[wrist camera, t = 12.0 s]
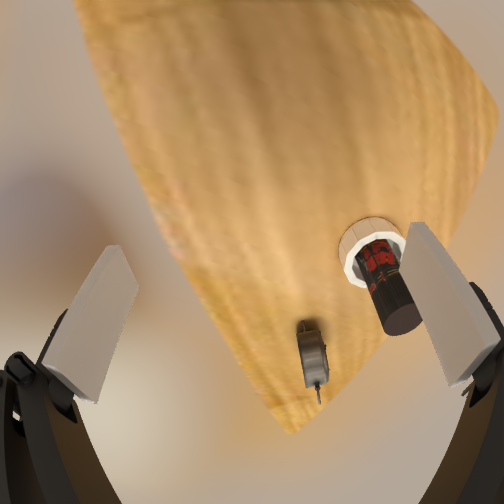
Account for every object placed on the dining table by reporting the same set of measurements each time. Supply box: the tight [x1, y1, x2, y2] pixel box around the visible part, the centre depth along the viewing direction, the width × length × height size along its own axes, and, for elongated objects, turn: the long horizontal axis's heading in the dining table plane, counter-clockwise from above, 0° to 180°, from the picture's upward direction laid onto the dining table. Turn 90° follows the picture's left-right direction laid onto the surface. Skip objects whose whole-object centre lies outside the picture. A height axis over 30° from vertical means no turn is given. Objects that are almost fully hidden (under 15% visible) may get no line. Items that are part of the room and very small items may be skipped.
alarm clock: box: [296, 321, 330, 405], centre depth 48 cm, size 11×5×16 cm, turn 13°
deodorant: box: [355, 239, 423, 336], centre depth 35 cm, size 6×6×15 cm
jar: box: [338, 217, 406, 288], centre depth 40 cm, size 10×10×4 cm
